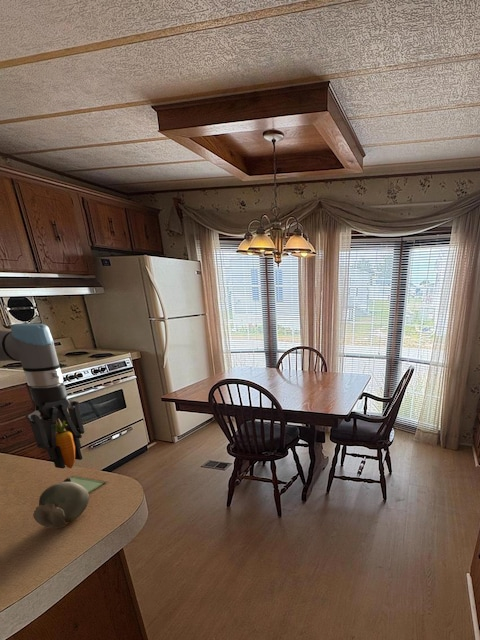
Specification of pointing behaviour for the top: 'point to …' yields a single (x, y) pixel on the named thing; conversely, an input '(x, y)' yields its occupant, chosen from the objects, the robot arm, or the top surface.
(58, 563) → the top surface
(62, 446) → the carrot
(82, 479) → the tray
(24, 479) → the top surface
